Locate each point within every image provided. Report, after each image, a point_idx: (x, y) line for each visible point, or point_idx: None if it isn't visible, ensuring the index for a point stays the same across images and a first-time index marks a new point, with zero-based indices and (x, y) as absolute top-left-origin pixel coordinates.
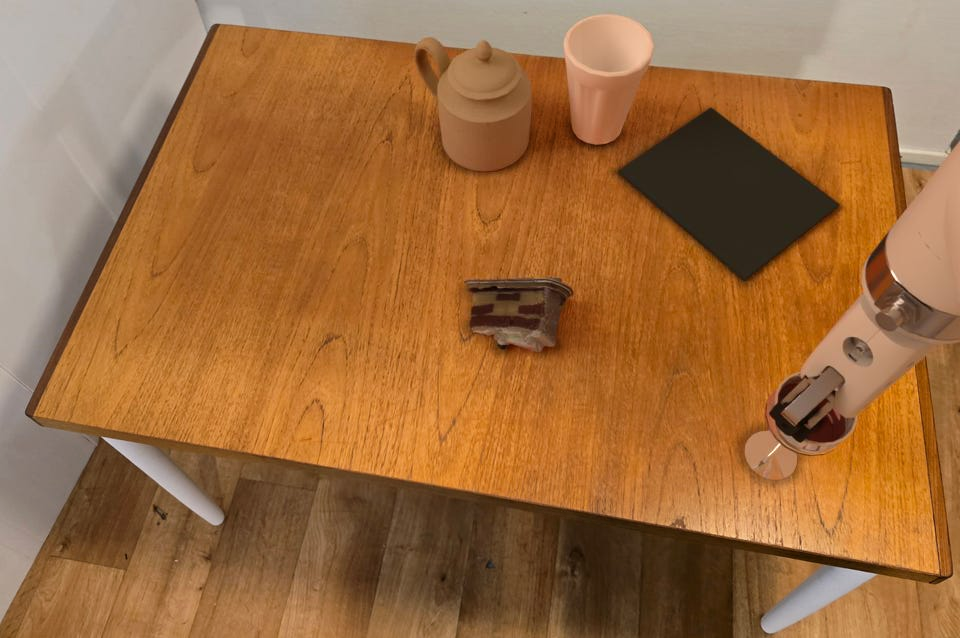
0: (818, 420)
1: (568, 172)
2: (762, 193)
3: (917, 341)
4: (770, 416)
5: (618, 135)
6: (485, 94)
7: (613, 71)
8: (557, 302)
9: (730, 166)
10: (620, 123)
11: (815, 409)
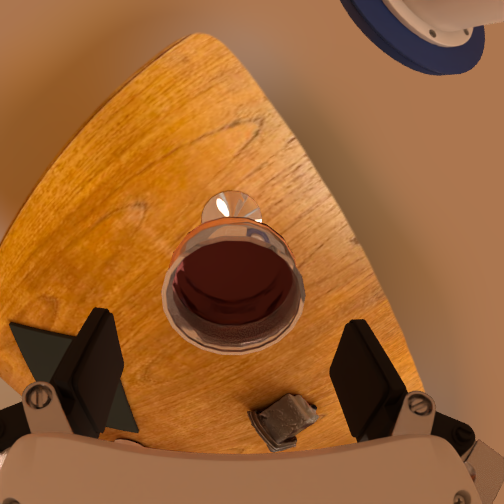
0: (432, 422)
1: (168, 444)
2: (53, 369)
3: None
4: (279, 317)
5: (121, 439)
6: None
7: None
8: (270, 424)
9: None
10: None
11: (390, 424)
